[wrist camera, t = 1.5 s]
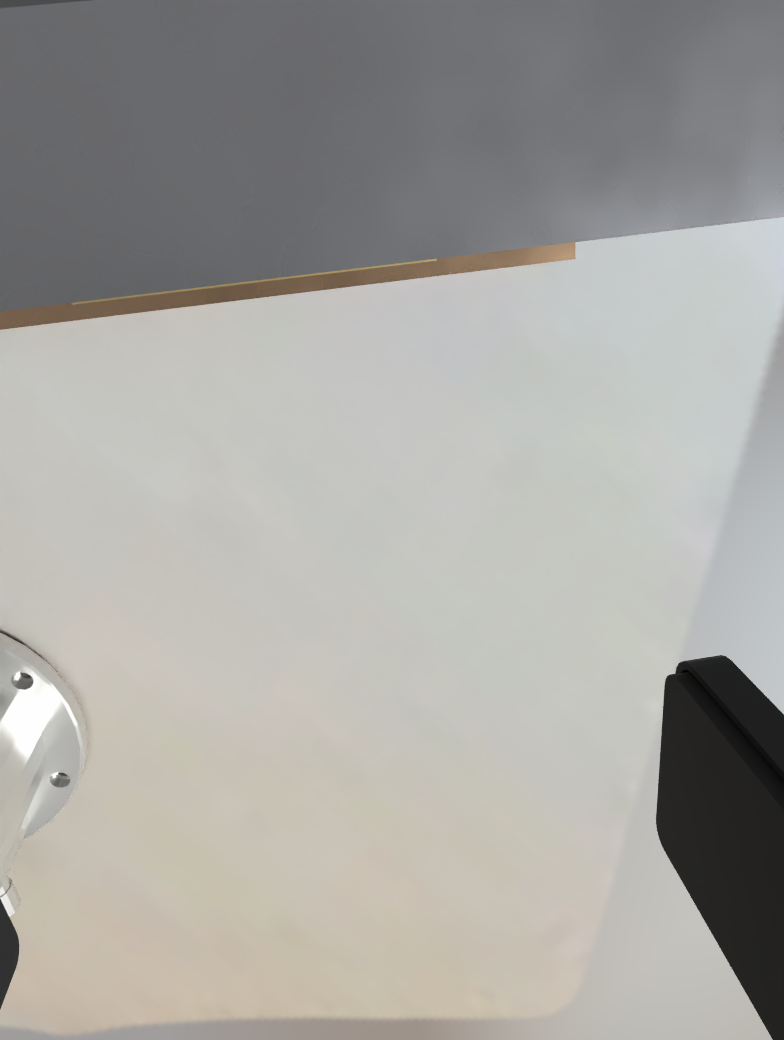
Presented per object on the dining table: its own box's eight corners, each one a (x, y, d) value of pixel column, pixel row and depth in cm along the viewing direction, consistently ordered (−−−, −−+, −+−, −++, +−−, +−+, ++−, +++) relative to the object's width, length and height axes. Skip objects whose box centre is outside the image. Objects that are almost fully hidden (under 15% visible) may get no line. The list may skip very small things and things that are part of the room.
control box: (561, 256, 27) (849, 294, 13) (-26, 328, 26) (-416, 460, 12) (558, 33, 24) (925, -226, 10) (-103, 97, 23) (-752, -107, 9)
